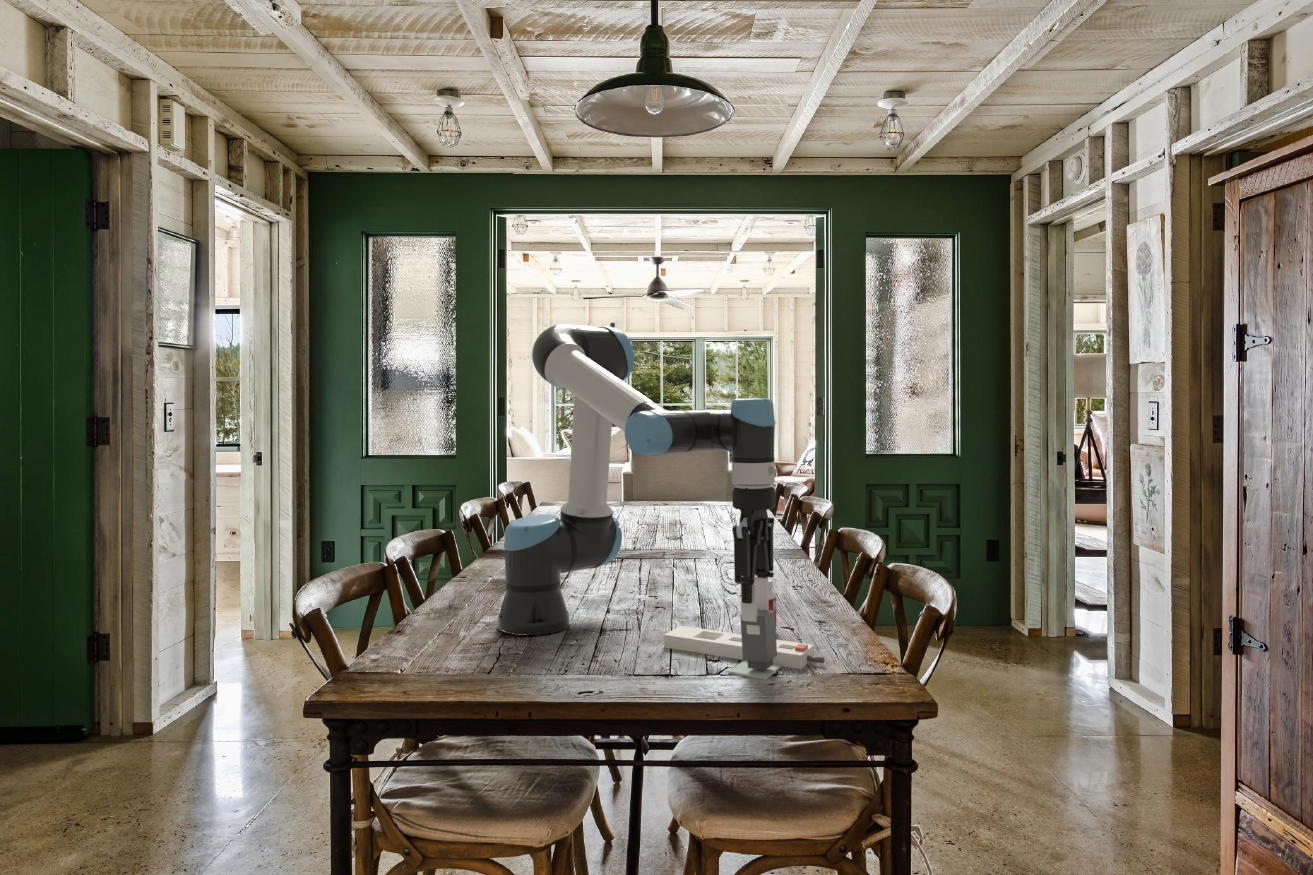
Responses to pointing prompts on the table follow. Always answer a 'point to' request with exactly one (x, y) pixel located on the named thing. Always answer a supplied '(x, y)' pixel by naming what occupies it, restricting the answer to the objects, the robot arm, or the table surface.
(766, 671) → the felt pad
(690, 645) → the power strip
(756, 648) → the block
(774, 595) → the pill bottle
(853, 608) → the table surface
